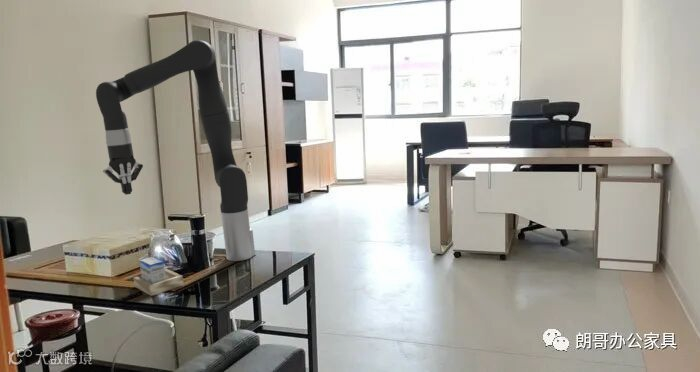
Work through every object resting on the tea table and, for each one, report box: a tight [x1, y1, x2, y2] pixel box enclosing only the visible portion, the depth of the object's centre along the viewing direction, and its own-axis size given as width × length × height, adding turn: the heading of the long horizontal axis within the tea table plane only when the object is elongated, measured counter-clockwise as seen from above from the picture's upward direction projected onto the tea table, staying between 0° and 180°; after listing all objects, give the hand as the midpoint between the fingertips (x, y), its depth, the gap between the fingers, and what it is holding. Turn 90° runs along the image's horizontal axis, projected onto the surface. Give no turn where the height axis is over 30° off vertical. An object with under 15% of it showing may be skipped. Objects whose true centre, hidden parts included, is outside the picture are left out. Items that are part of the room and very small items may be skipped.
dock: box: [133, 267, 184, 297], centre depth 165 cm, size 10×12×3 cm
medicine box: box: [139, 256, 166, 284], centre depth 164 cm, size 8×4×9 cm, turn 45°
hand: (127, 194), depth 178 cm, fingers closed
